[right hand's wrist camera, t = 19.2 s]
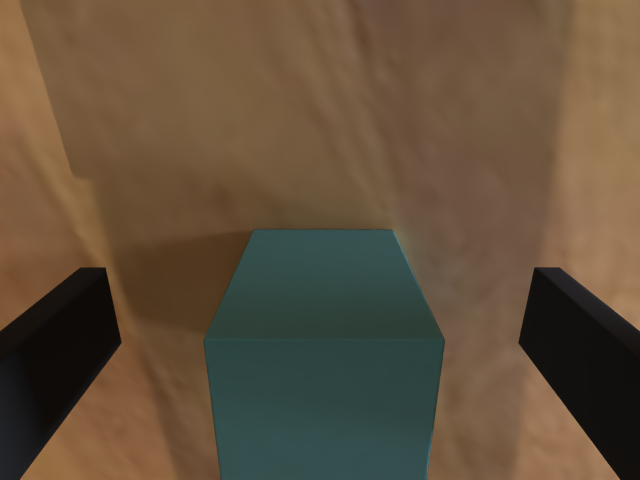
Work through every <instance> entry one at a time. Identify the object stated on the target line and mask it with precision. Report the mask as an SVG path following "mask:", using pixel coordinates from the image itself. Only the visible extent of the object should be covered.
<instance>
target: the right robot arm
mask: <svg viewBox="0 0 640 480" xmlns="http://www.w3.org/2000/svg"><path fill="white" fill-rule="evenodd" d="M121 343H122V342H121V338H120V333H119V328H118V324H117V319H116V314H115V310H114V305H113V300H112V296H111V291H110V286H109V282H108V277H107V272H106V268H79V269H78V270H77V271H75V272H74V273H73V274H72V275H70V276H69V277H68V278H67V279H65V280H64V281H63V282H62V283H60V284H59V285H58V286H57V287H55V288H54V289H53V290H52V291H50V292H49V293H48V294H47V295H45V296H44V297H43V298H41V299H40V300H39V301H38V302H36V303H35V304H34V305H33V306H31V307H30V308H29V309H28V310H26V311H25V312H24V313H23V314H21V315H20V316H19V317H18V318H16V319H15V320H14V321H13V322H11V323H10V324H9V325H8V326H6V327H5V328H4V329H2V330H1V331H0V480H20V478H21V477H22V476H23V474H24V473H25V472H26V470H27V469H28V468H29V466H30V465H31V464H32V462H33V461H34V460H35V458H36V457H37V456H38V454H39V453H40V452H41V450H42V449H43V448H44V446H45V445H46V444H47V442H48V441H49V440H50V438H51V437H52V436H53V434H54V433H55V431H56V430H57V429H58V427H59V426H60V425H61V423H62V422H63V421H64V419H65V418H66V417H67V415H68V414H69V413H70V411H71V410H72V409H73V407H74V406H75V405H76V403H77V402H78V401H79V399H80V398H81V397H82V395H83V394H84V393H85V391H86V390H87V389H88V387H89V386H90V385H91V383H92V382H93V381H94V379H95V378H96V377H97V375H98V374H99V373H100V371H101V370H102V369H103V367H104V366H105V365H106V363H107V362H108V360H109V359H110V358H111V356H112V355H113V354H114V352H115V351H116V350H117V348H118V347H119V346H120V344H121ZM518 343H519V344H520V346H521V347H522V348H523V350H524V351H525V352H526V354H527V355H528V356H529V358H530V359H531V360H532V362H533V363H534V365H535V366H536V367H537V369H538V370H539V371H540V373H541V374H542V375H543V377H544V378H545V379H546V381H547V382H548V383H549V385H550V386H551V387H552V389H553V390H554V391H555V393H556V394H557V395H558V397H559V398H560V399H561V401H562V402H563V403H564V405H565V406H566V407H567V409H568V410H569V411H570V413H571V414H572V415H573V417H574V418H575V419H576V421H577V422H578V423H579V425H580V426H581V427H582V429H583V430H584V431H585V433H586V434H587V436H588V437H589V438H590V440H591V441H592V442H593V444H594V445H595V446H596V448H597V449H598V450H599V452H600V453H601V454H602V456H603V457H604V458H605V460H606V461H607V462H608V464H609V465H610V466H611V468H612V469H613V470H614V472H615V473H616V474H617V476H618V477H619V478H620V480H640V331H639V330H638V329H636V328H635V327H634V326H632V325H631V324H630V323H629V322H627V321H626V320H625V319H624V318H622V317H621V316H620V315H619V314H617V313H616V312H615V311H614V310H612V309H611V308H610V307H609V306H607V305H606V304H605V303H604V302H602V301H601V300H600V299H599V298H597V297H596V296H595V295H593V294H592V293H591V292H590V291H588V290H587V289H586V288H585V287H583V286H582V285H581V284H580V283H578V282H577V281H576V280H575V279H573V278H572V277H571V276H570V275H568V274H567V273H566V272H565V271H563V270H562V269H561V268H534V272H533V277H532V282H531V286H530V291H529V296H528V300H527V305H526V310H525V314H524V319H523V324H522V328H521V333H520V338H519V342H518Z"/></svg>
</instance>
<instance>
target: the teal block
mask: <svg viewBox="0 0 640 480" xmlns="http://www.w3.org/2000/svg"><path fill="white" fill-rule="evenodd" d="M444 344H445V340H444V337H443V335H442V333H441V331H440V329H439V327H438V325H437V322H436V320H435V318H434V316H433V314H432V312H431V310H430V308H429V305H428V303H427V301H426V299H425V297H424V295H423V293H422V291H421V289H420V286H419V284H418V282H417V280H416V278H415V276H414V274H413V272H412V269H411V267H410V265H409V263H408V261H407V259H406V257H405V255H404V252H403V250H402V248H401V246H400V244H399V242H398V240H397V238H396V236H395V233H394V231H393V230H253V232H252V234H251V237H250V239H249V241H248V243H247V245H246V248H245V250H244V252H243V254H242V256H241V259H240V261H239V263H238V265H237V267H236V270H235V272H234V274H233V276H232V278H231V281H230V283H229V285H228V287H227V289H226V292H225V294H224V296H223V298H222V300H221V303H220V305H219V307H218V309H217V311H216V314H215V316H214V318H213V320H212V322H211V325H210V327H209V329H208V331H207V333H206V336H205V338H204V348H205V356H206V364H207V372H208V380H209V388H210V396H211V405H212V413H213V421H214V429H215V437H216V445H217V453H218V461H219V469H220V477H221V480H427V473H428V465H429V458H430V450H431V442H432V435H433V427H434V420H435V412H436V405H437V397H438V390H439V382H440V375H441V367H442V359H443V352H444Z"/></svg>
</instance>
